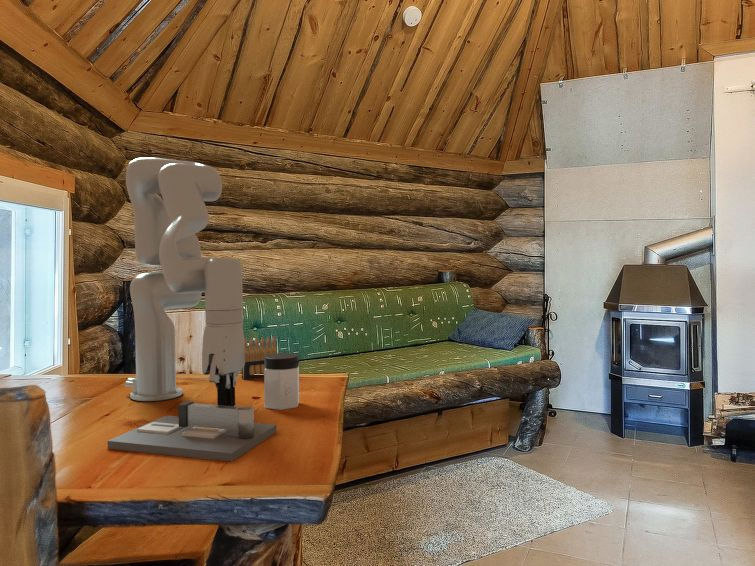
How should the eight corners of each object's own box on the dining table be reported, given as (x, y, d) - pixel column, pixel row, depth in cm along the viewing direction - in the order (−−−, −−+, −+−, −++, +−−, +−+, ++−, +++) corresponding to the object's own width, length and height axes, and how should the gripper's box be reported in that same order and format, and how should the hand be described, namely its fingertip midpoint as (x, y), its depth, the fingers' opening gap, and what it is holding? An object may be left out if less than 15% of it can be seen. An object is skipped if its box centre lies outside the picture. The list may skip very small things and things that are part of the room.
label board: (107, 448, 113) (107, 437, 112) (166, 422, 130) (166, 412, 130) (231, 461, 105) (231, 449, 105) (276, 432, 123) (276, 421, 123)
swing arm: (178, 432, 117) (178, 404, 117) (187, 427, 120) (186, 400, 119) (249, 438, 113) (249, 410, 112) (256, 433, 116) (256, 406, 115)
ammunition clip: (243, 380, 173) (243, 338, 172) (241, 378, 174) (241, 337, 174) (278, 375, 179) (277, 335, 178) (275, 374, 180) (275, 335, 180)
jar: (271, 411, 138) (271, 360, 138) (258, 404, 145) (257, 355, 144) (306, 406, 143) (306, 356, 143) (291, 399, 150) (291, 351, 149)
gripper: (226, 314, 132) (228, 397, 132) (187, 321, 117) (189, 414, 118) (257, 315, 130) (259, 399, 130) (221, 322, 115) (223, 416, 116)
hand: (226, 406), depth 124 cm, fingers closed
